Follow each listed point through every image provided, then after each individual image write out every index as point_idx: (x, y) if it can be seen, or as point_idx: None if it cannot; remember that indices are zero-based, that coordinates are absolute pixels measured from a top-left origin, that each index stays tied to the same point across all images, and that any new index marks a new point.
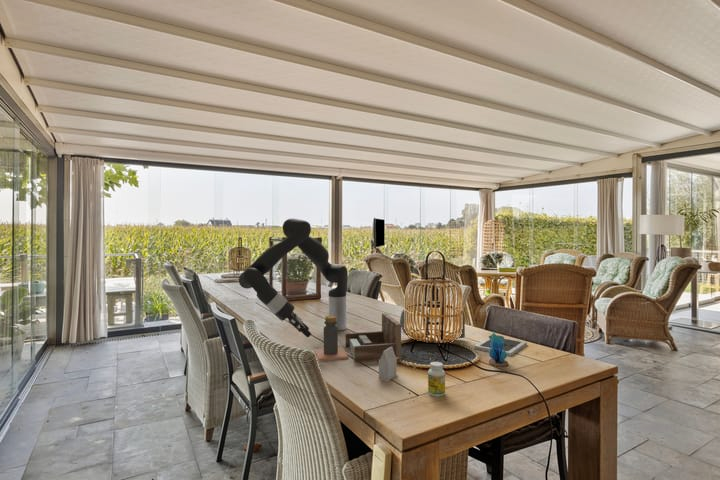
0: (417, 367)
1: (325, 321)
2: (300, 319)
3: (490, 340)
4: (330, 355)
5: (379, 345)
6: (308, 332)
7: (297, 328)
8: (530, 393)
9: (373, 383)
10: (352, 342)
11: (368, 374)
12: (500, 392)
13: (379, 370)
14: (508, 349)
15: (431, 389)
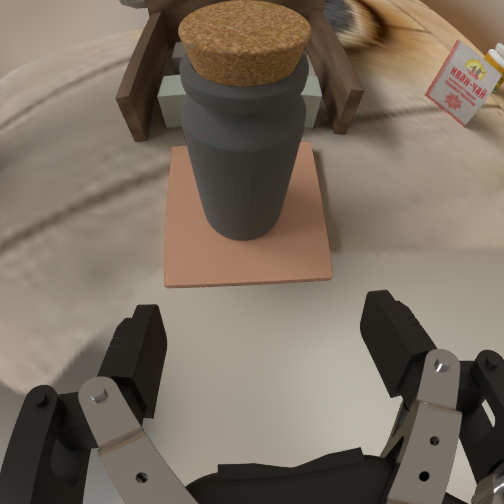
0: (377, 40)
1: (251, 89)
2: (148, 440)
3: None
4: (288, 211)
5: (334, 34)
6: (413, 315)
7: (489, 423)
8: (441, 17)
9: (488, 148)
10: None
11: (445, 136)
12: (450, 31)
13: (475, 112)
14: None
15: (499, 86)
